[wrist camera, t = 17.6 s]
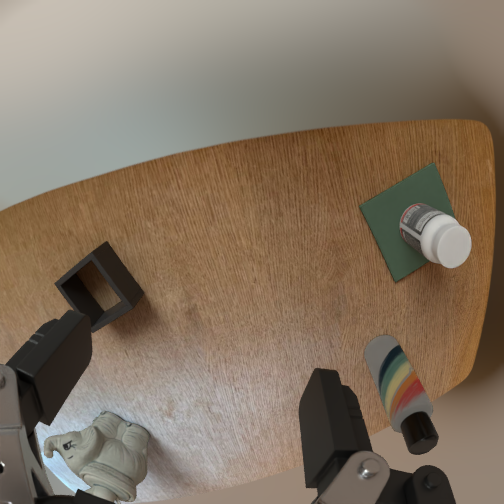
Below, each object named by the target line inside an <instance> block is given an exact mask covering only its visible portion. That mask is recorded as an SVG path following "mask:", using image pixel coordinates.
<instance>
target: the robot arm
mask: <svg viewBox="0 0 504 504" xmlns="http://www.w3.org/2000/svg"><path fill="white" fill-rule="evenodd" d="M91 357H92V337H91V321H90V317H89V316H88V315H85V314H82V313H79V312H76V311H73V310H68V311H67V312H66V313H65V314H64V315H63V316H62V317H61V318H60V319H59V320H57V319H53V320H51V321H49V322H47V323H45V324H43V325H42V326H41V327H40V328H39V329H38V330H37V331H36V332H35V334H33V335H32V336H31V337H30V338H29V341H27V342H26V343H25V344H24V345H23V346H22V347H21V348H20V349H19V350H18V351H17V352H16V353H15V354H14V356H13V357H12V358H11V359H10V360H9V361H8V362H7V363H6V364H5V365H4V364H0V504H115V503H114V502H111V501H108V500H106V499H103V498H100V497H97V496H95V495H92V494H90V493H87V492H85V491H82V490H80V489H78V490H77V492H76V495H75V496H70V495H54V492H53V489H52V487H51V485H50V482H49V480H48V478H47V475H46V471H45V468H44V464H43V460H42V456H41V451H40V447H39V443H38V438H37V433H36V429H35V427H36V425H37V423H38V422H39V421H40V422H42V423H44V424H46V425H48V426H50V425H51V423H52V421H53V420H54V418H55V416H56V415H57V413H58V412H59V410H60V408H61V407H62V405H63V404H64V402H65V400H66V399H67V397H68V396H69V394H70V392H71V391H72V389H73V388H74V386H75V385H76V383H77V382H78V380H79V379H80V377H81V375H82V374H83V372H84V371H85V369H86V368H87V366H88V365H89V363H90V360H91ZM362 417H363V416H362V412H361V410H360V406H359V403H358V399H357V396H356V395H355V394H354V393H353V391H352V390H351V389H350V388H349V386H345V385H341V381H340V377H339V374H338V372H337V371H336V370H329V369H321V368H315V369H314V371H313V373H312V375H311V377H310V380H309V382H308V384H307V386H306V388H305V391H304V393H303V395H302V397H301V400H300V404H299V422H300V432H301V441H302V451H303V462H304V472H305V483H306V488H317V492H318V496H317V497H316V498H315V499H314V500H313V502H312V503H311V504H456V502H455V499H454V496H453V493H452V490H451V487H450V484H449V481H448V478H447V476H446V475H445V474H444V472H443V471H442V470H440V469H439V468H437V467H435V466H431V465H425V466H422V467H420V468H418V469H417V470H416V471H415V472H414V473H413V474H412V473H407V472H402V471H398V470H393V469H390V468H389V465H388V463H387V462H386V460H385V459H384V458H383V457H381V456H380V455H378V454H376V453H374V452H373V450H372V447H371V443H370V439H369V436H368V432H367V429H366V426H365V422H364V419H362Z"/></svg>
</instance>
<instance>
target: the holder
mask: <svg viewBox="0 0 504 504" xmlns="http://www.w3.org/2000/svg"><path fill="white" fill-rule="evenodd" d="M91 260H92V261H93V263H94V264H95V265H96V267H97V268H98V270H99V271H100V272H101V274H102V275H103V277H104V278H105V279H106V281H107V282H108V283H109V285H110V286H111V287H112V289H113V290H114V291H115V293H116V294H117V295H118V296H119V298H120V299H121V300H122V301H121V302H119V303H118V304H116V305H115V306H113V307H112V308H110V309H109V310H107V311H105V312H104V311H103V310H102V308H101V307H100V306H99V304H98V303H97V302H96V301H95V299H94V298H93V297H92V295H91V294H90V293H89V291H88V290H87V289H86V287H85V286H84V285H83V283H82V282H81V281H80V279H79V278H78V276H77V275H76V274H75V273H76V272H77V271H79V270H80V269H81V268H82V267H84V266H85V265H86V264H87V263H89V262H90V261H91ZM54 284H55V285H56V287H57V288H58V290H59V291H60V292H61V294H62V295H63V296H64V298H65V299H66V300H67V302H68V303H69V304H70V306H71V307H72V308H73V310H74V311H76V312H79V313H82V314H85V315H88V316H89V317H90V321H91V332H92V333H94V332H95V331H97V330H99V329H100V328H102V327H104V326H105V325H107V324H108V323H110V322H112V321H113V320H115V319H117V318H118V317H120V316H122V315H123V314H125V313H126V312H128V311H130V310H131V309H133V308H134V307H135V305H136V304H137V303H138V301H139V300H140V298H141V297H142V296H143V294H144V292H143V290H142V289H141V288H140V286H139V285H138V284H137V282H136V281H135V280H134V278H133V277H132V276H131V274H130V273H129V272H128V270H127V269H126V267H125V266H124V265H123V263H122V262H121V261H120V259H119V258H118V256H117V255H116V254H115V252H114V251H113V249H112V248H111V246H110V245H109V244H108V242H107V241H106V242H104V243H103V244H102V245H100V246H99V247H98V248H96V249H95V250H94V251H92V252H91V253H90V254H88V255H87V256H86V257H85V258H84V259H82V260H81V261H80V262H79V263H78V264H76V265H75V266H74V267H73V268H72V269H70V270H69V271H68V272H67V273H66V274H65V275H63V276H62V277H61V278H60V279H59V280H58V281H57V282H55V283H54Z"/></svg>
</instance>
